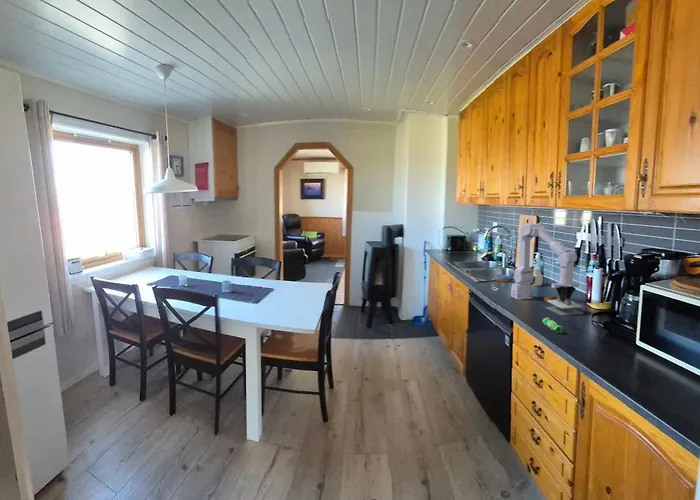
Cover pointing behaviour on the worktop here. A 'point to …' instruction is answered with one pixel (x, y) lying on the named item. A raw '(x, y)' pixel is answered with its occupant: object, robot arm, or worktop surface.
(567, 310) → the mat
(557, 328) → the candy
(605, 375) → the worktop surface
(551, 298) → the box
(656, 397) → the worktop surface
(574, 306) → the lid
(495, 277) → the doughnut
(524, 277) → the robot arm
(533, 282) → the medicine bottle
